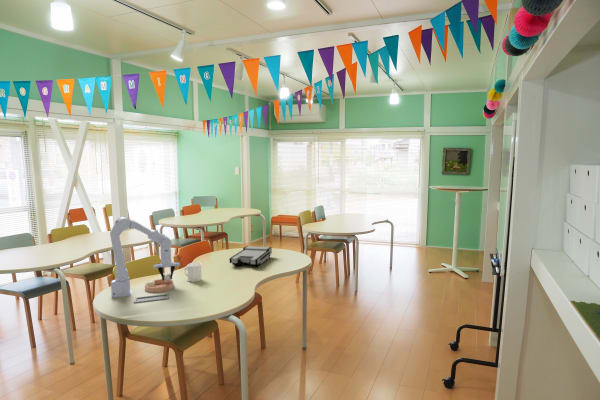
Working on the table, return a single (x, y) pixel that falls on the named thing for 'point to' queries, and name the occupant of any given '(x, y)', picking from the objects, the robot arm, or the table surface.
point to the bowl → (160, 286)
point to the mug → (193, 272)
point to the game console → (251, 256)
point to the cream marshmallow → (151, 283)
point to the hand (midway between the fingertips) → (167, 279)
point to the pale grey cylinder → (167, 277)
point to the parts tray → (151, 298)
